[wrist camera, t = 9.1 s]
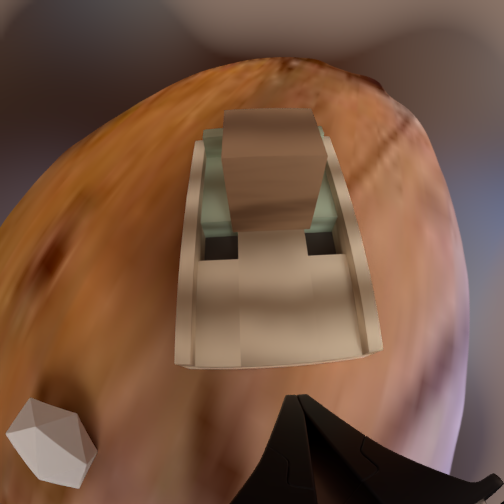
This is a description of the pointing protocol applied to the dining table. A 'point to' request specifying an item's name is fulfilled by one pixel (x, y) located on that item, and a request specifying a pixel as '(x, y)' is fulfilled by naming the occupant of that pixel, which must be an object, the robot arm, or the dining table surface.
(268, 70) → the dining table surface
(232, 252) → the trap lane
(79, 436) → the die
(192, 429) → the dining table surface
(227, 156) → the walnut block
